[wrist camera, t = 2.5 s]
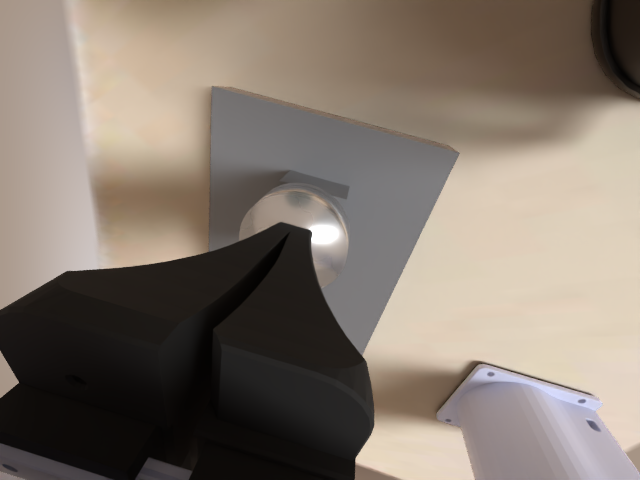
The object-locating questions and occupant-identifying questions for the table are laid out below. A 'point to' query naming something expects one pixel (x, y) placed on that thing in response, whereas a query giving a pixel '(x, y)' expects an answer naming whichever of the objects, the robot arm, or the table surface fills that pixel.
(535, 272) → the table surface
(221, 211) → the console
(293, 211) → the steel plunger
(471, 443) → the robot arm
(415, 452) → the table surface
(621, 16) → the french press
